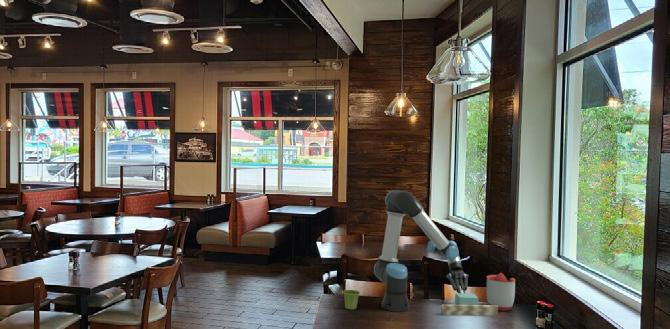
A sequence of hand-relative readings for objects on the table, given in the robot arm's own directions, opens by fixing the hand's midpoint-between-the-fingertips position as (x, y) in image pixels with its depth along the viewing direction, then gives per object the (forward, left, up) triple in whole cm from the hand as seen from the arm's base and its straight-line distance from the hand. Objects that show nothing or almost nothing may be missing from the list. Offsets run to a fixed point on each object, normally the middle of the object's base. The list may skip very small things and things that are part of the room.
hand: (463, 301), depth 251 cm
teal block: (0, -5, -4) cm, 7 cm away
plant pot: (-63, -2, -4) cm, 63 cm away
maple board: (0, -10, -4) cm, 11 cm away
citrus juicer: (+23, +3, -4) cm, 23 cm away
